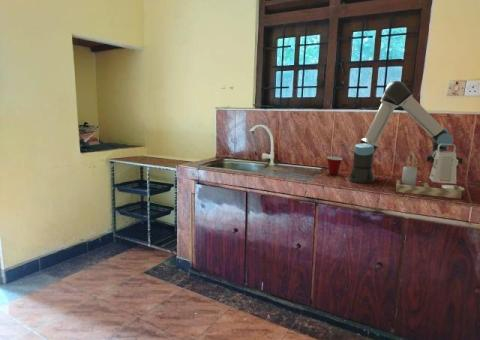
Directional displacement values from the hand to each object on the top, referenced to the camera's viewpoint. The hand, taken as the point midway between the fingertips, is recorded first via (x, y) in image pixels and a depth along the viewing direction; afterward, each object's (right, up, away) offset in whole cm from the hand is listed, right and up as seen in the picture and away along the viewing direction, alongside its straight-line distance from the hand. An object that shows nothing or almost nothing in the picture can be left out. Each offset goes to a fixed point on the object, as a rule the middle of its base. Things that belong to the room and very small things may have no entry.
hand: (446, 162), depth 159 cm
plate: (+16, -15, +18) cm, 28 cm away
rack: (-4, -16, +10) cm, 20 cm away
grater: (+2, -10, +6) cm, 12 cm away
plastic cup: (-41, -7, +59) cm, 72 cm away
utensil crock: (-12, -16, +14) cm, 24 cm away
